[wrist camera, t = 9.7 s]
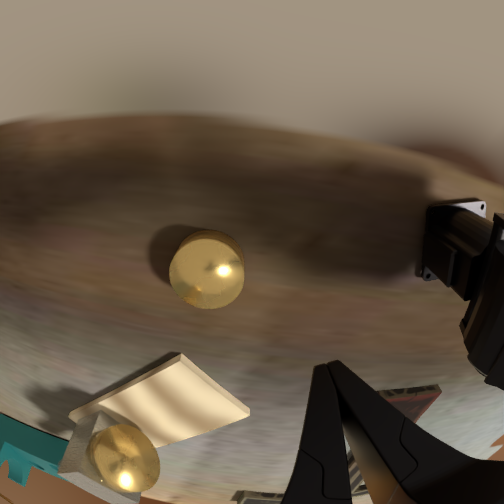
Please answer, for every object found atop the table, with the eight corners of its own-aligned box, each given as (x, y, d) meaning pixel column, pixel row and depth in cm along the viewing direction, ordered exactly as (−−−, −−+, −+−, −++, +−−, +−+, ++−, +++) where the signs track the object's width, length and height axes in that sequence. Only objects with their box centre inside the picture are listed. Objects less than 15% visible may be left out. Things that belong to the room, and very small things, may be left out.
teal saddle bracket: (25, 440, 38) (11, 479, 29) (0, 413, 33) (-19, 456, 24) (100, 468, 39) (89, 514, 30) (80, 445, 34) (64, 499, 25)
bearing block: (100, 409, 28) (78, 471, 20) (151, 443, 31) (139, 503, 23) (78, 419, 30) (56, 473, 21) (125, 450, 32) (111, 503, 24)
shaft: (111, 410, 27) (90, 470, 19) (164, 446, 29) (154, 502, 22) (53, 433, 31) (35, 474, 23) (95, 462, 33) (83, 502, 26)
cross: (504, 375, 29) (385, 502, 47) (498, 368, 30) (383, 497, 48) (261, 404, 27) (234, 518, 45) (261, 390, 28) (234, 511, 46)
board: (181, 353, 26) (179, 360, 25) (249, 408, 29) (249, 415, 28) (70, 411, 31) (67, 417, 30) (126, 450, 34) (124, 455, 33)
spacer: (238, 224, 21) (237, 236, 19) (249, 286, 23) (249, 304, 21) (169, 234, 21) (160, 248, 19) (185, 294, 23) (179, 312, 21)
